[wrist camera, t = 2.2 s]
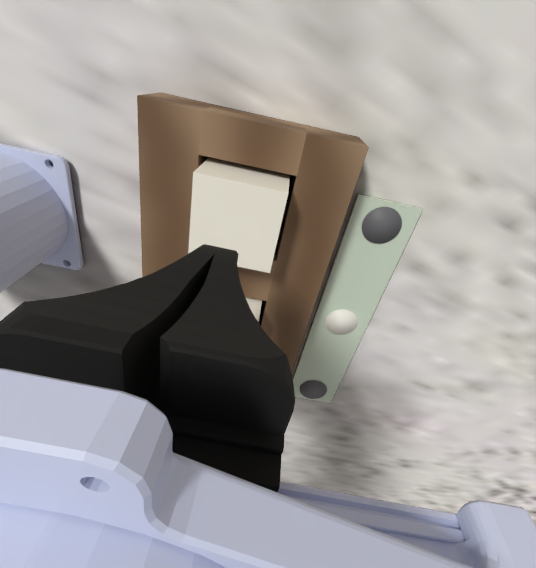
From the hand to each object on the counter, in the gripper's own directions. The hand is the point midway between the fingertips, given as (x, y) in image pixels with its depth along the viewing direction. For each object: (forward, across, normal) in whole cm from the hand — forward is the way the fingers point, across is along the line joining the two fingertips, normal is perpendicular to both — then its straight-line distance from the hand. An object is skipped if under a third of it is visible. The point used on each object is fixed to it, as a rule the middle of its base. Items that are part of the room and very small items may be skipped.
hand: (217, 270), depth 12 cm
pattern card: (+9, -8, +8) cm, 15 cm away
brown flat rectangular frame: (+9, 0, +8) cm, 12 cm away
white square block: (+8, 0, 0) cm, 8 cm away
